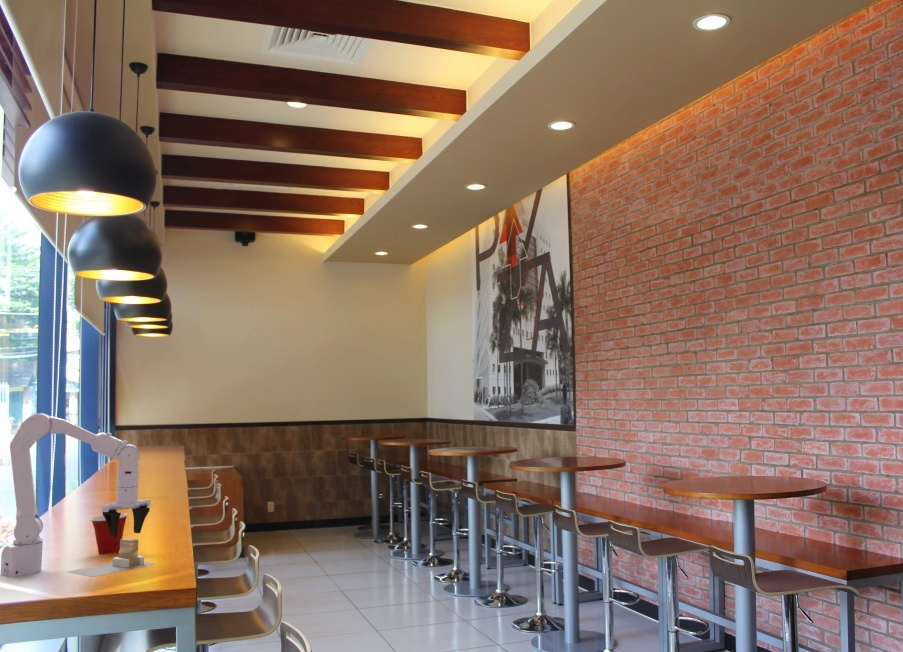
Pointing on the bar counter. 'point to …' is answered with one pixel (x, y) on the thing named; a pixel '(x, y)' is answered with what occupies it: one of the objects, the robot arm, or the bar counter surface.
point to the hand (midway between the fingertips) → (125, 534)
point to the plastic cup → (108, 534)
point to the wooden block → (129, 550)
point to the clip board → (111, 567)
